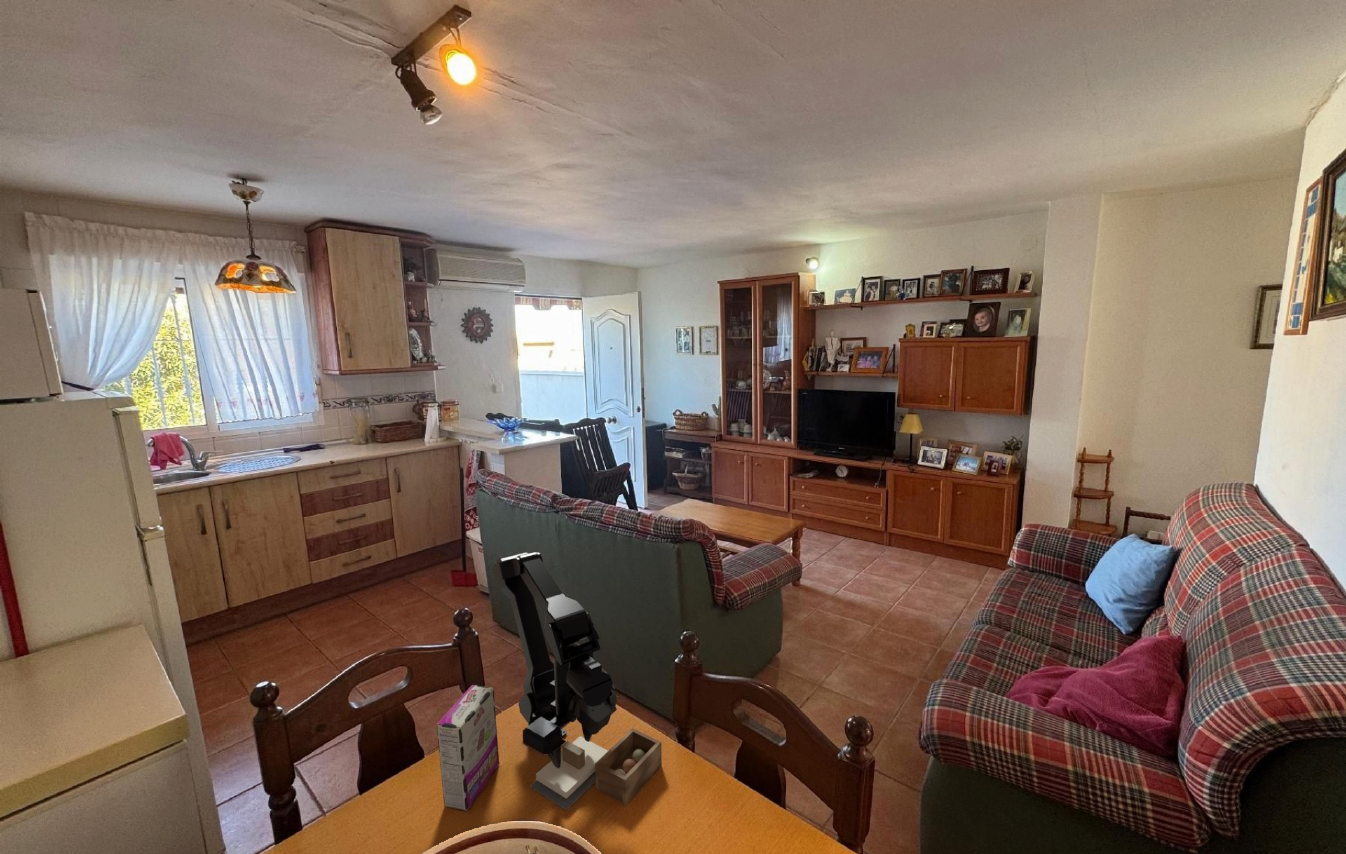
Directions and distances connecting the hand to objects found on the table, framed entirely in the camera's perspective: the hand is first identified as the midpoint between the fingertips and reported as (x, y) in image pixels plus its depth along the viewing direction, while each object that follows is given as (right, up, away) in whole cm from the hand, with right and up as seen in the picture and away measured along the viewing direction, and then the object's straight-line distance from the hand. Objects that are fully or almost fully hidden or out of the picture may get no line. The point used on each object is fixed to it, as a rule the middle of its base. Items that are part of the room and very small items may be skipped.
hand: (572, 753), depth 101 cm
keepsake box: (+11, -4, 0) cm, 11 cm away
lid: (0, -3, 0) cm, 3 cm away
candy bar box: (-18, -5, -2) cm, 19 cm away
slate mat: (0, -4, +1) cm, 4 cm away
